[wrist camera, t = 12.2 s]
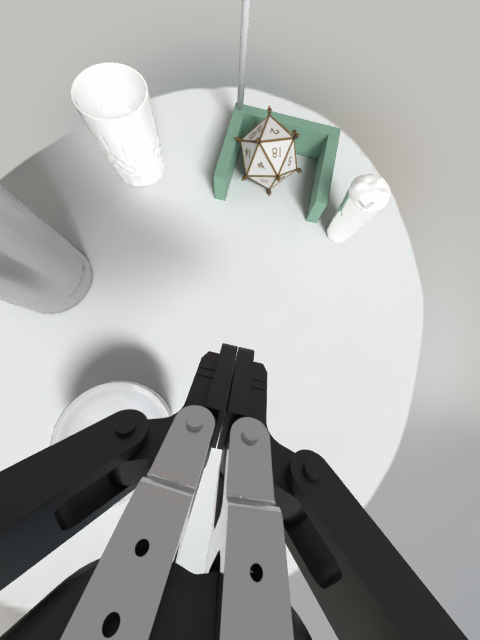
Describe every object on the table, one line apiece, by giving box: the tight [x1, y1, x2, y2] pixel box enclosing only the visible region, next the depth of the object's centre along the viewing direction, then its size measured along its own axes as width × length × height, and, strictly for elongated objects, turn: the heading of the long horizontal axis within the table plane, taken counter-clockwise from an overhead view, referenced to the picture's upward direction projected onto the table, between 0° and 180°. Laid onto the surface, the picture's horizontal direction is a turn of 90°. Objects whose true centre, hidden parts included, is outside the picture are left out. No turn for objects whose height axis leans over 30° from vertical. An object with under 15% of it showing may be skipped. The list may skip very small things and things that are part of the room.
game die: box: [234, 106, 302, 196], centre depth 33 cm, size 9×8×10 cm
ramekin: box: [51, 381, 172, 507], centre depth 26 cm, size 11×11×5 cm
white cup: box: [71, 62, 164, 187], centre depth 31 cm, size 8×8×10 cm
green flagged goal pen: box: [214, 0, 340, 223], centre depth 27 cm, size 15×12×20 cm
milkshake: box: [326, 174, 390, 243], centre depth 30 cm, size 4×5×10 cm
